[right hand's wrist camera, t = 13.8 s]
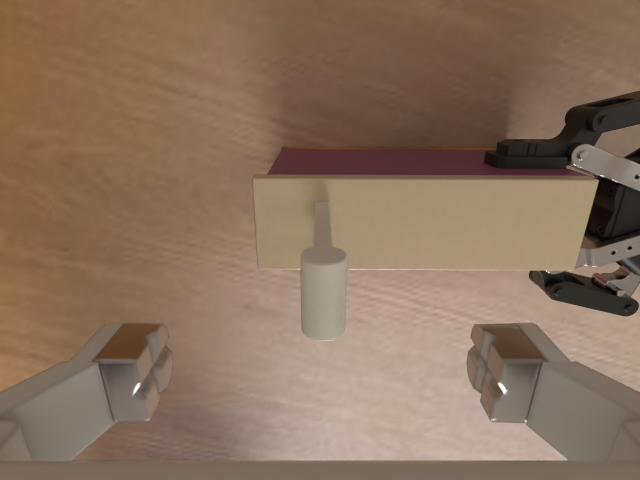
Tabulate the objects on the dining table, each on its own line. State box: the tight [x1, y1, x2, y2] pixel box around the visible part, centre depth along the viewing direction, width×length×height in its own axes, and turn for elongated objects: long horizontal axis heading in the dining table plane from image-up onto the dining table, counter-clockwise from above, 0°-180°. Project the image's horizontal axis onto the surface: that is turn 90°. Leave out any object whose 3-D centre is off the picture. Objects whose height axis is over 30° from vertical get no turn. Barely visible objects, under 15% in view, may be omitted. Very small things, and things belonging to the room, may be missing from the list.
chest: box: [267, 147, 587, 176], centre depth 25 cm, size 16×5×9 cm, turn 90°
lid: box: [252, 175, 599, 341], centre depth 16 cm, size 17×5×8 cm, turn 90°
